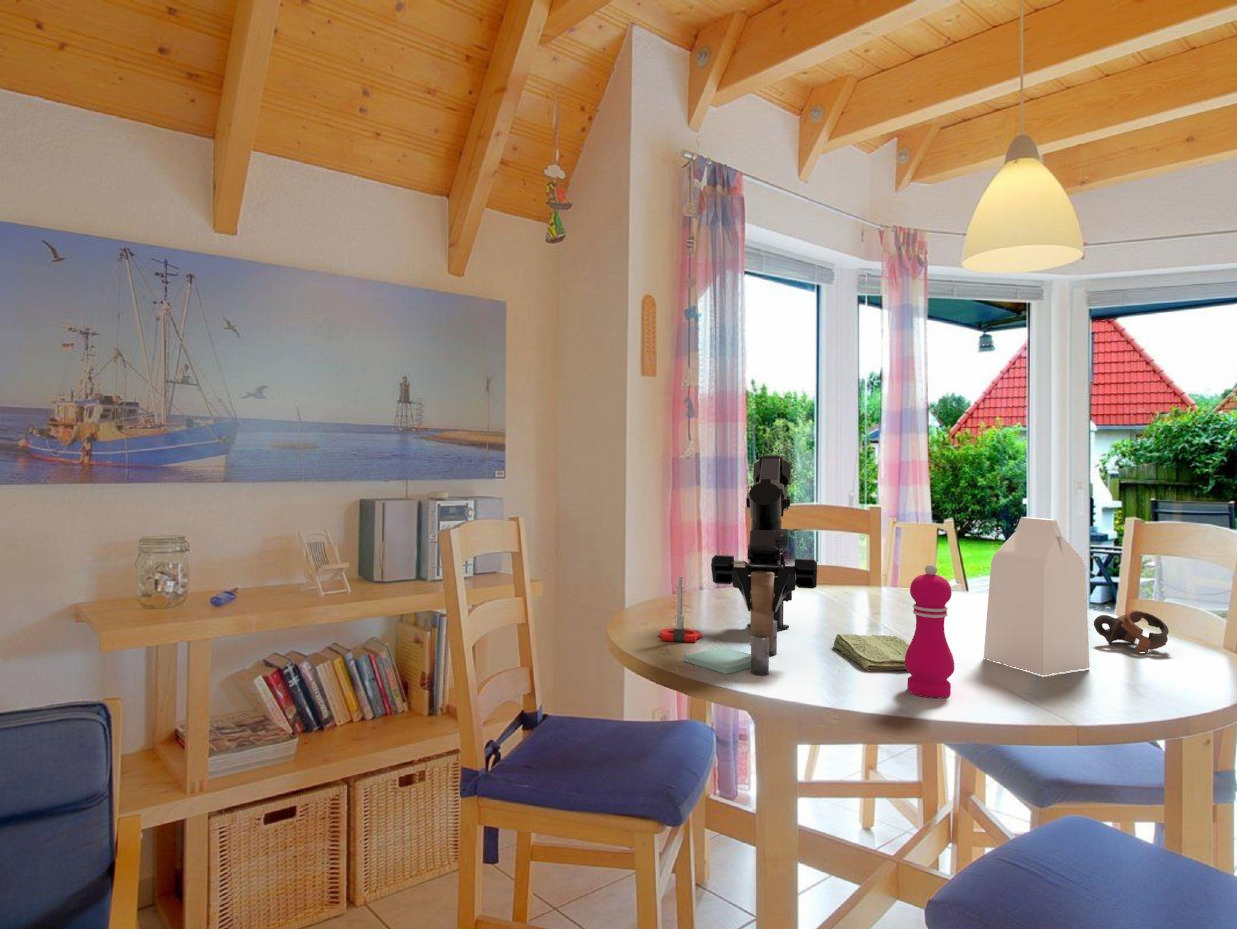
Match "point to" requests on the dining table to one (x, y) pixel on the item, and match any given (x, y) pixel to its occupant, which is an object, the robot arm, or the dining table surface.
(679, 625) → the tow hook
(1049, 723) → the dining table surface
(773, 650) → the post farther from pad
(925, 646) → the pepper mill
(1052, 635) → the milk
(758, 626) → the walnut dowel
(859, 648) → the washcloth
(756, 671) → the post near pad
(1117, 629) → the brown ring bracket
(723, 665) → the teal pad
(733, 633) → the dining table surface
